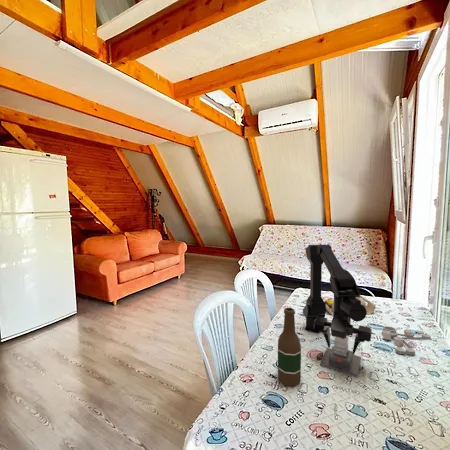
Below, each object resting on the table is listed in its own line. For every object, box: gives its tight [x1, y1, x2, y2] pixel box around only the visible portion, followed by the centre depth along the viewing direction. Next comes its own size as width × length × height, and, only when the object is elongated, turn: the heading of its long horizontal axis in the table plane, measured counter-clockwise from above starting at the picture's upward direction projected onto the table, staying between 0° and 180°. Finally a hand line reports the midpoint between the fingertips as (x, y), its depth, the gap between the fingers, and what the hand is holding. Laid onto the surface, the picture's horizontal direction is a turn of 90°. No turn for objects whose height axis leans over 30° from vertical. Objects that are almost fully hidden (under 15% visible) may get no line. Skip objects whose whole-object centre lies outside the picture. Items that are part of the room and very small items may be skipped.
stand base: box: [319, 345, 362, 378], centre depth 95 cm, size 12×12×4 cm
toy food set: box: [324, 294, 376, 316], centre depth 145 cm, size 25×18×8 cm
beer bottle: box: [277, 307, 302, 388], centre depth 86 cm, size 8×8×24 cm
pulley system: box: [381, 325, 431, 356], centre depth 111 cm, size 27×5×15 cm
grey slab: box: [333, 336, 350, 358], centre depth 95 cm, size 4×6×8 cm
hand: (341, 350), depth 95 cm, fingers open, 8 cm apart
